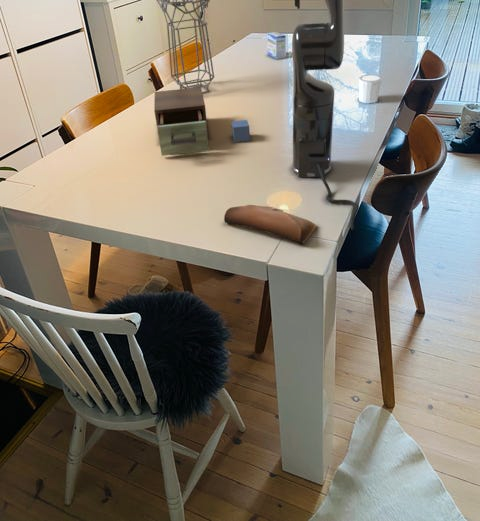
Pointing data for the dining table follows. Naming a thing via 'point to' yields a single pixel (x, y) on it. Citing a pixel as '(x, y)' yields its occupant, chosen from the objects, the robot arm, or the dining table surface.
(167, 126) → the drawer
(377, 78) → the white short cylinder
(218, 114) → the dining table surface
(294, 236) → the sunglasses case
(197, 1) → the geometric lantern
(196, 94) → the cabinet
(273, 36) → the medicine box
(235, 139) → the block
